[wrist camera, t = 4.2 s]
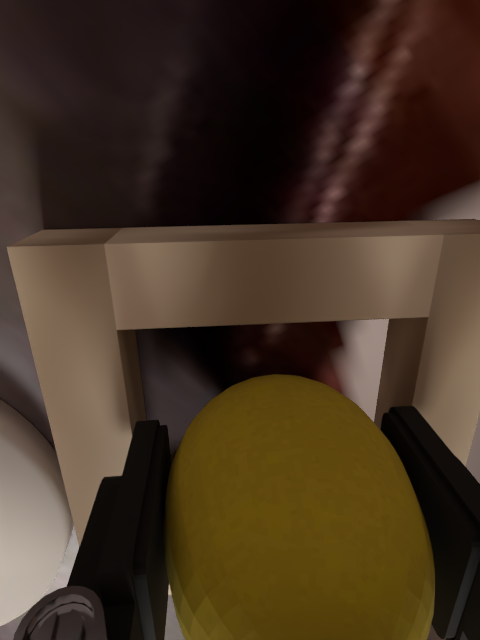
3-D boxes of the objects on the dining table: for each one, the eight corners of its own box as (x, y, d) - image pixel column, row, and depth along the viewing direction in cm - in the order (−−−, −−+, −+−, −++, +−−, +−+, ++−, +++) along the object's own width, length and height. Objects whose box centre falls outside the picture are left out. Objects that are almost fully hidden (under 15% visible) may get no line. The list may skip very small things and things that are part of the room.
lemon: (145, 368, 12) (46, 717, 5) (318, 298, 11) (518, 560, 4) (218, 492, 14) (231, 866, 7) (367, 437, 14) (555, 772, 6)
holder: (474, 219, 11) (528, 232, 9) (409, 521, 15) (437, 572, 14) (43, 230, 10) (6, 246, 8) (107, 544, 15) (92, 601, 13)
